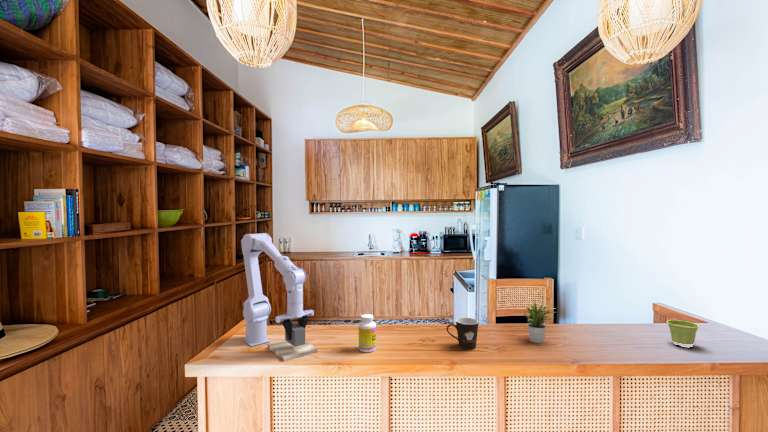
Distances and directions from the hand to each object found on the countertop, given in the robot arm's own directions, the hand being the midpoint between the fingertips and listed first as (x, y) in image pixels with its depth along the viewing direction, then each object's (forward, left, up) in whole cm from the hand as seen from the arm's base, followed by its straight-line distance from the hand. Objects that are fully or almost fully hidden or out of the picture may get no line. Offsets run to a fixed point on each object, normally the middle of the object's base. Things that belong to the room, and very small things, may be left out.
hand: (295, 337), depth 127 cm
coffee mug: (+36, +54, -6) cm, 65 cm away
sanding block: (0, 0, -2) cm, 2 cm away
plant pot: (+90, +119, -6) cm, 149 cm away
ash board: (-3, 0, -5) cm, 6 cm away
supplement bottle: (+15, +23, -6) cm, 28 cm away
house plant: (+52, +80, -6) cm, 95 cm away
